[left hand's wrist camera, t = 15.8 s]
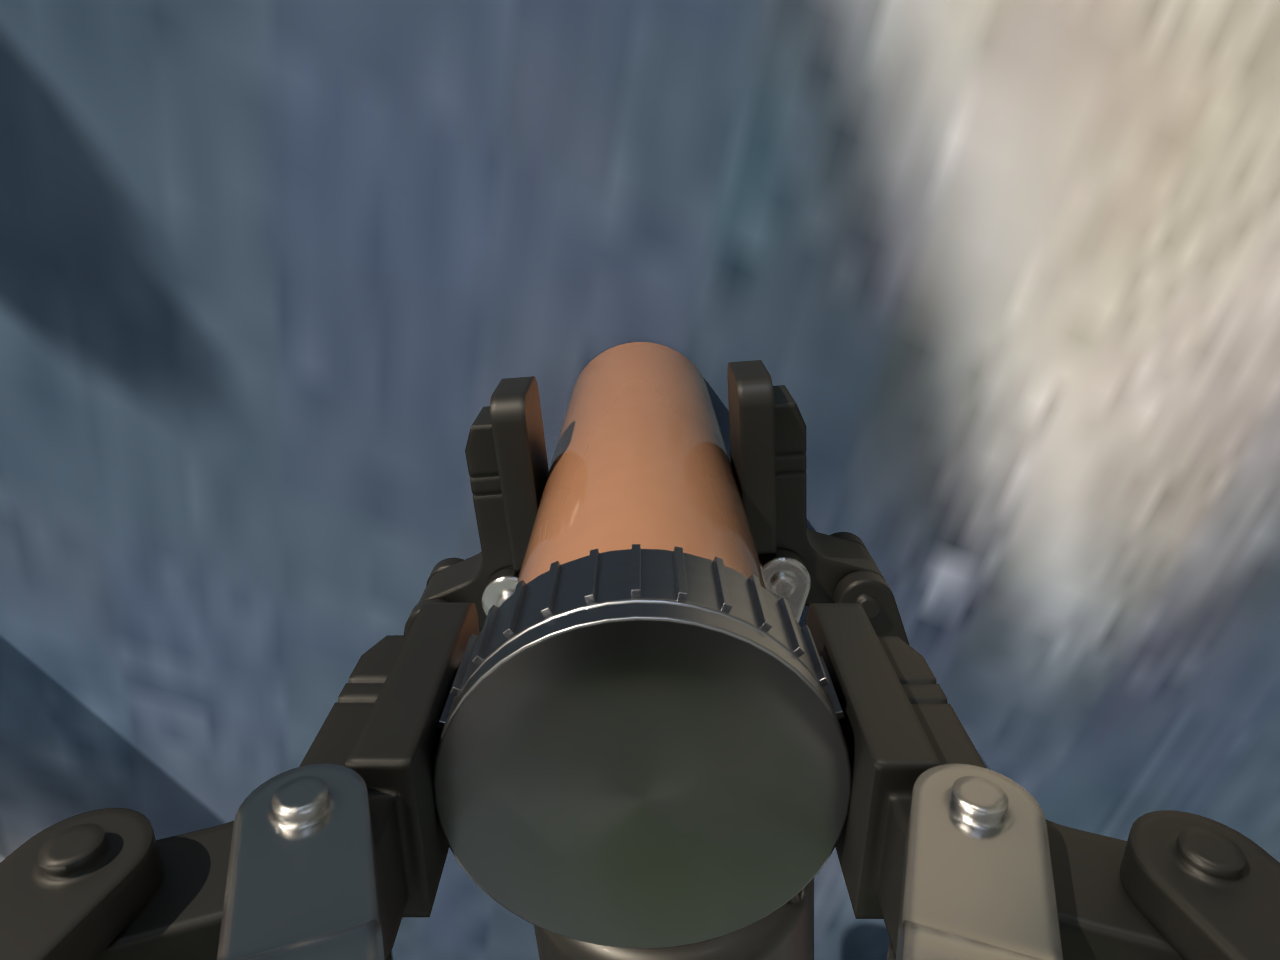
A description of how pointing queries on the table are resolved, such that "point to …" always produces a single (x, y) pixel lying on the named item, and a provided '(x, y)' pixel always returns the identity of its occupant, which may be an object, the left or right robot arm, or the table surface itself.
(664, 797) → the lid
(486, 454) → the right robot arm
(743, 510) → the jar
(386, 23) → the table surface
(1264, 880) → the left robot arm
